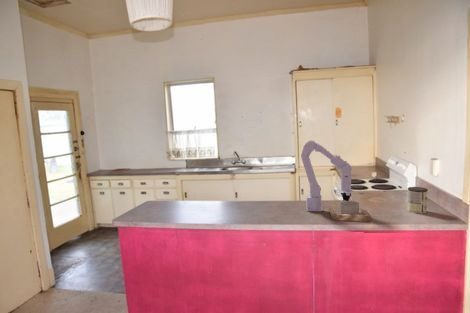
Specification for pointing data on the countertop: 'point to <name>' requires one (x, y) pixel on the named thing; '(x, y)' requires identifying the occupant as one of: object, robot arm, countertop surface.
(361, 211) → the wooden bay
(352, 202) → the teacup
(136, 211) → the countertop surface
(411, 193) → the coffee can
